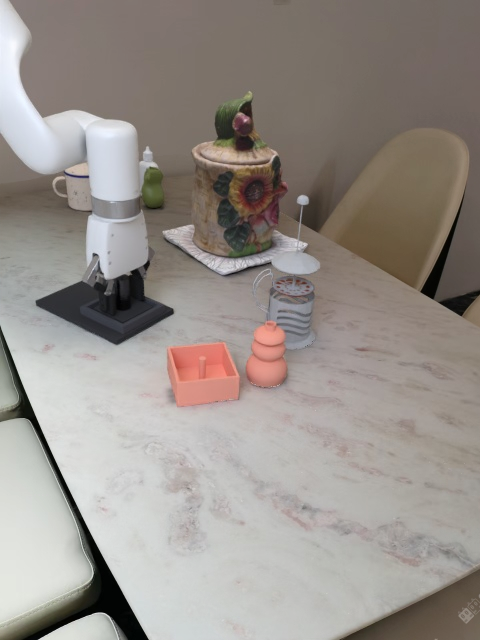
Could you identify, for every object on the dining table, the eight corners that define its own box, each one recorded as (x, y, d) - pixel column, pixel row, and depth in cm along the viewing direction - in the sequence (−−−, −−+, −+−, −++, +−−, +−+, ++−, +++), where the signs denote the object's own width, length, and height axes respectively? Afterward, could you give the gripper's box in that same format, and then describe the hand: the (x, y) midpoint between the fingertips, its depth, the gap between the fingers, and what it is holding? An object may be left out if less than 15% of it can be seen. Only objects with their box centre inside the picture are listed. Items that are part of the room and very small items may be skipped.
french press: (321, 349, 102) (342, 207, 88) (254, 350, 100) (265, 206, 86) (308, 319, 110) (326, 185, 96) (246, 320, 108) (255, 183, 94)
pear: (156, 202, 154) (155, 162, 148) (168, 208, 151) (168, 168, 145) (138, 205, 150) (136, 166, 145) (149, 212, 147) (148, 172, 142)
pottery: (177, 406, 86) (176, 350, 80) (167, 369, 93) (166, 315, 88) (294, 393, 91) (302, 338, 86) (276, 358, 98) (282, 306, 93)
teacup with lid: (102, 197, 153) (98, 151, 146) (108, 210, 146) (105, 162, 140) (53, 200, 149) (47, 153, 142) (57, 213, 142) (51, 164, 135)
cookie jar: (157, 237, 135) (153, 84, 117) (241, 217, 149) (249, 79, 131) (224, 280, 120) (232, 112, 102) (310, 253, 135) (330, 102, 117)
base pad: (35, 305, 106) (33, 293, 105) (95, 279, 116) (94, 267, 115) (117, 345, 98) (116, 332, 96) (173, 313, 108) (173, 301, 106)
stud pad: (93, 313, 103) (90, 277, 100) (123, 299, 109) (121, 264, 105) (123, 328, 100) (121, 291, 96) (153, 312, 106) (152, 276, 102)
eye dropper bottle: (153, 188, 162) (152, 143, 155) (160, 195, 158) (159, 149, 151) (138, 190, 160) (136, 144, 153) (144, 197, 156) (142, 150, 149)
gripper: (137, 186, 101) (141, 281, 111) (55, 212, 89) (68, 316, 99) (171, 198, 98) (172, 294, 108) (91, 226, 86) (100, 332, 96)
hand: (122, 304), depth 104 cm, fingers open, 6 cm apart
